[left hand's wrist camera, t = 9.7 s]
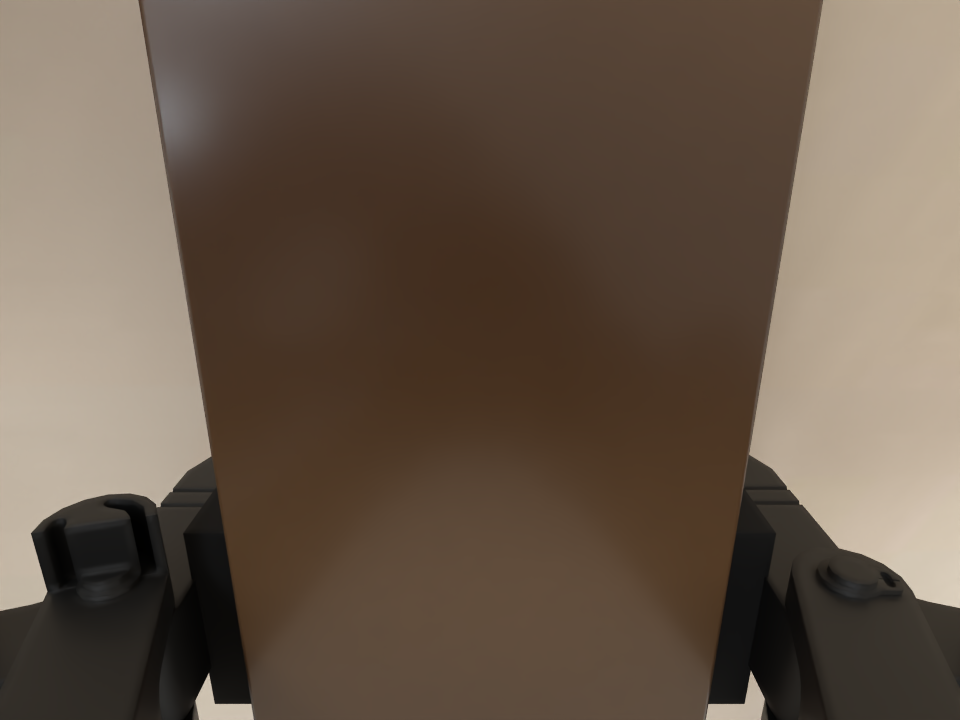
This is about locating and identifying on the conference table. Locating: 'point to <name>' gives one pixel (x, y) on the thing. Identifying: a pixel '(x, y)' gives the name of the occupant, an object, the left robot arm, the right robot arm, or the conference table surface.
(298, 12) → the beam
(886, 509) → the conference table surface
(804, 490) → the conference table surface
